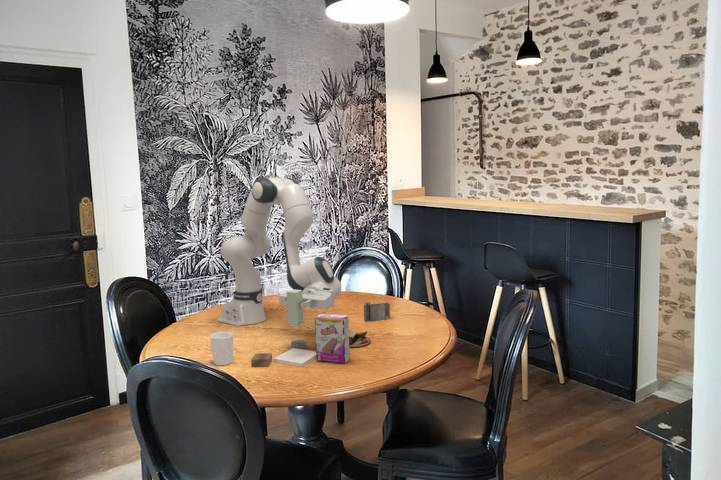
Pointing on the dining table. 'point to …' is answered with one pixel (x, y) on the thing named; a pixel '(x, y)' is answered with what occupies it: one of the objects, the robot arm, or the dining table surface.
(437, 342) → the dining table surface
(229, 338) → the white cup
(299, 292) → the sage block
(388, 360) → the dining table surface
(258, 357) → the walnut block
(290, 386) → the dining table surface
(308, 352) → the plate
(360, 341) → the toy sandwich meal
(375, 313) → the dark grey piece
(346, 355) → the candy bar box
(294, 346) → the grey domed disc
